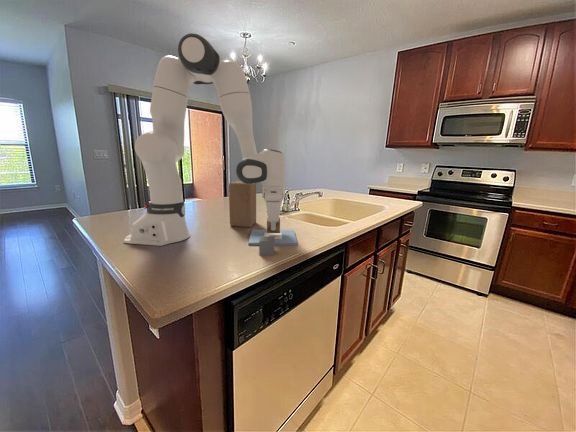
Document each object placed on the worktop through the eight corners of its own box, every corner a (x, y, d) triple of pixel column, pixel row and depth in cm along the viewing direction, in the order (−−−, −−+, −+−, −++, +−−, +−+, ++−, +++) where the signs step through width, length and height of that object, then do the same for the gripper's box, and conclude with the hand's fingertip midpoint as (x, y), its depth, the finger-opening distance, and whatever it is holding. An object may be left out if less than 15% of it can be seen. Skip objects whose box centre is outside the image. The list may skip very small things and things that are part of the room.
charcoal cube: (259, 255, 84) (259, 241, 83) (260, 250, 89) (260, 236, 88) (274, 255, 84) (274, 241, 83) (274, 250, 89) (274, 236, 88)
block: (249, 228, 114) (249, 183, 109) (229, 226, 116) (227, 182, 111) (256, 222, 124) (256, 181, 119) (237, 220, 126) (236, 180, 121)
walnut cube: (267, 233, 98) (267, 220, 97) (267, 229, 103) (267, 217, 102) (279, 233, 98) (280, 220, 97) (279, 229, 103) (279, 217, 102)
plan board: (248, 245, 93) (248, 242, 93) (252, 232, 109) (251, 229, 108) (297, 245, 94) (297, 242, 94) (293, 232, 110) (293, 229, 109)
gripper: (266, 188, 107) (266, 220, 110) (264, 197, 87) (264, 235, 90) (281, 189, 107) (280, 220, 111) (282, 197, 87) (282, 235, 91)
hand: (273, 227), depth 100 cm, fingers closed on walnut cube, 5 cm apart
